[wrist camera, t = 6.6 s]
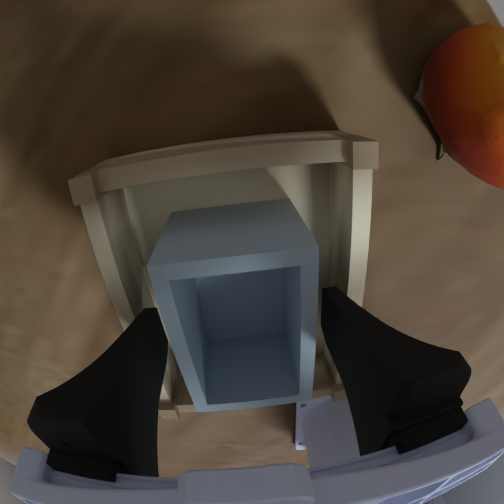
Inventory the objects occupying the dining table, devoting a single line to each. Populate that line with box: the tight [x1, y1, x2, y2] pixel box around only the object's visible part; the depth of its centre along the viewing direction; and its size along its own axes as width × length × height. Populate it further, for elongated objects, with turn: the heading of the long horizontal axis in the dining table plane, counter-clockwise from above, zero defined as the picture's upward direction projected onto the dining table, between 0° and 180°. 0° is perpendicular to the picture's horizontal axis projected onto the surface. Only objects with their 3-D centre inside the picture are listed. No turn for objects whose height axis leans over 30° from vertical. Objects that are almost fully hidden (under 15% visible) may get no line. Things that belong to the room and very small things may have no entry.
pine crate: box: [68, 130, 378, 419], centre depth 14 cm, size 14×11×4 cm
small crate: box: [147, 198, 319, 412], centre depth 13 cm, size 8×5×5 cm
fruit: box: [412, 22, 504, 189], centre depth 10 cm, size 8×8×8 cm
